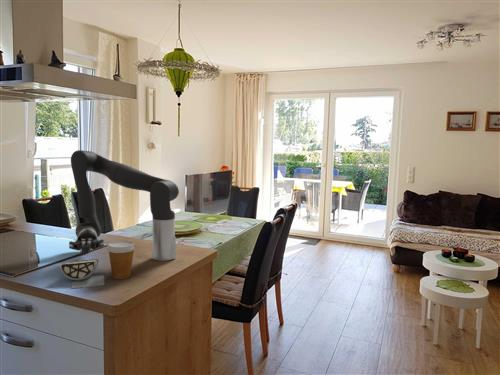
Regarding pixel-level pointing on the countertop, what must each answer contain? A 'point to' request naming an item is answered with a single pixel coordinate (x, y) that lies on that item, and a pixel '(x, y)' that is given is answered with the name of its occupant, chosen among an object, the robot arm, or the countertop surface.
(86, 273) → the food container
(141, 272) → the countertop surface
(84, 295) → the countertop surface
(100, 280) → the mat
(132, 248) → the disposable coffee cup
